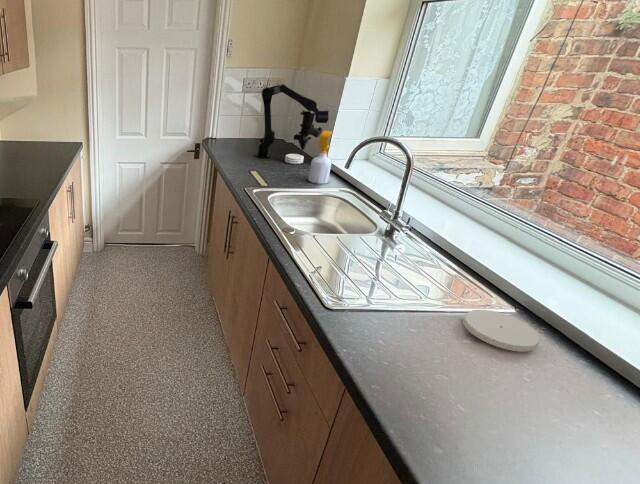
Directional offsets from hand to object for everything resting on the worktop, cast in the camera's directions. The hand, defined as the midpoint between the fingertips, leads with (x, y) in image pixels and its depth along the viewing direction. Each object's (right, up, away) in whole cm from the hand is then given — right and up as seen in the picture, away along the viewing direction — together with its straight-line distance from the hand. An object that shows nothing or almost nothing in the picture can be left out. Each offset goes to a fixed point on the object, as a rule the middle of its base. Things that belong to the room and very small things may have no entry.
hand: (302, 149), depth 243 cm
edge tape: (-36, -21, -31) cm, 52 cm away
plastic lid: (-13, -76, -142) cm, 162 cm away
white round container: (-7, -8, -5) cm, 12 cm away
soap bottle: (-8, -24, -37) cm, 44 cm away
